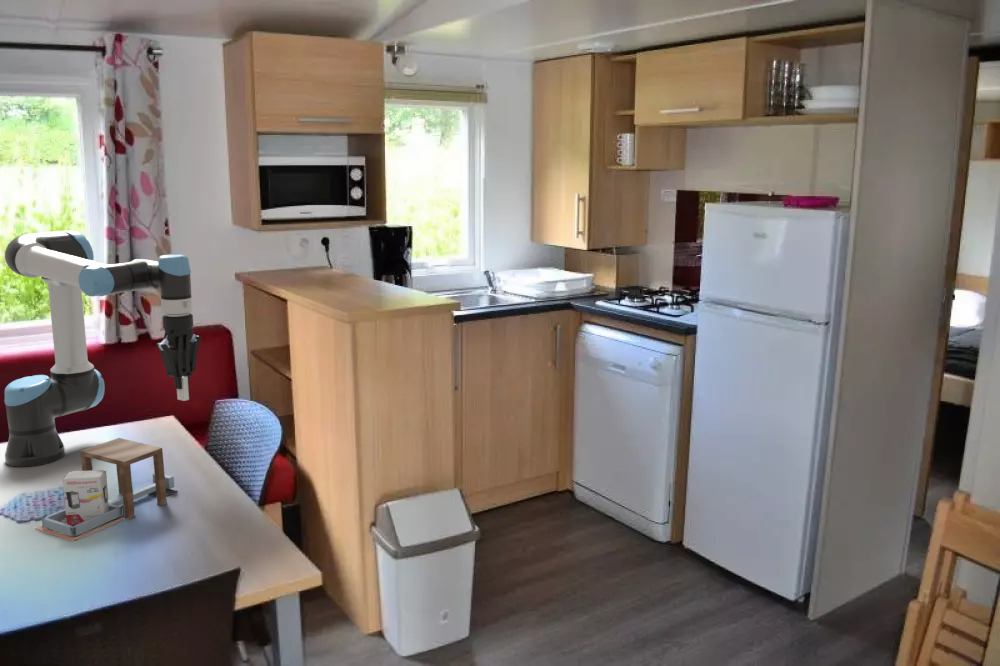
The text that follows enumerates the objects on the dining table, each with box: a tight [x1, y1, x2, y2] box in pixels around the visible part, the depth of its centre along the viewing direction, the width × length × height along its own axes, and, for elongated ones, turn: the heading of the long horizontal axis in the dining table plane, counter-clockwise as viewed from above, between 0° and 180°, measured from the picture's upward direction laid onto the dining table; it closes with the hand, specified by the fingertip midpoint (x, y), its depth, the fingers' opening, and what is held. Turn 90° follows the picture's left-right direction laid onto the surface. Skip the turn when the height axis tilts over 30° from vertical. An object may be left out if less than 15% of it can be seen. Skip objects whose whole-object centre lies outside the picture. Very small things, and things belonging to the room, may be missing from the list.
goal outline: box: [35, 516, 126, 542], centre depth 195 cm, size 14×14×1 cm
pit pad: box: [147, 488, 178, 498], centre depth 214 cm, size 9×5×1 cm, turn 62°
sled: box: [41, 473, 175, 537], centre depth 203 cm, size 11×31×3 cm, turn 152°
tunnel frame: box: [80, 437, 168, 520], centre depth 204 cm, size 16×11×15 cm
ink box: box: [62, 469, 110, 526], centre depth 196 cm, size 9×5×12 cm, turn 101°
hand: (183, 399), depth 221 cm, fingers closed
